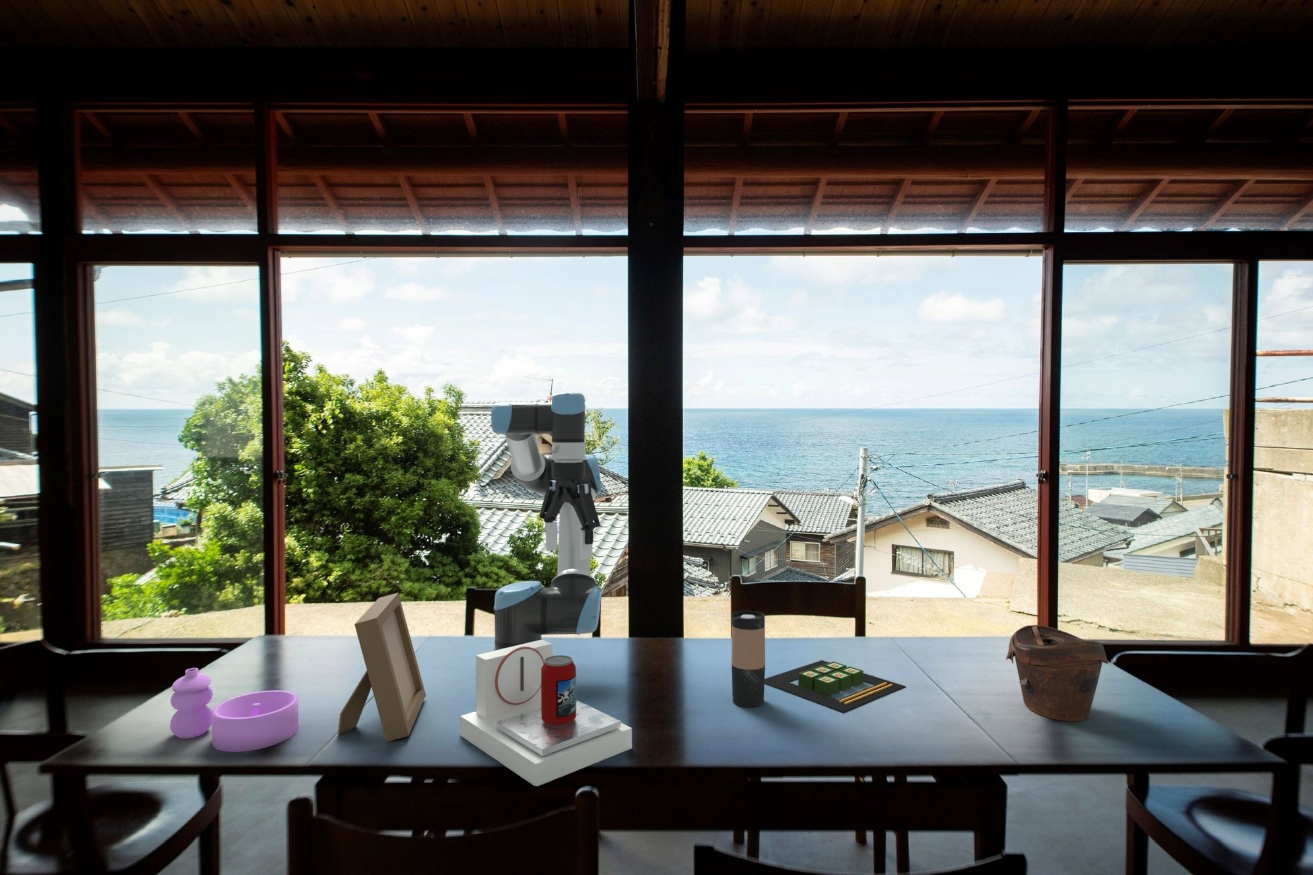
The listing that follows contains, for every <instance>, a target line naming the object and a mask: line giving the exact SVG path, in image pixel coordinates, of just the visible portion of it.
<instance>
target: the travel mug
mask: <svg viewBox="0 0 1313 875" xmlns="http://www.w3.org/2000/svg"><path fill="white" fill-rule="evenodd" d="M765 625H766V617H765V614H764V613H763V612H760V611H756V610H737V611H734V612H733V613H732V614H731V692H732V703H733V704H734V705H735V706H739V707H741V708H746V709H747V708H749V709H752V708H754V709H755V708H759V707H760V706H763V705H764V703H765V685H766V684H765V678H766V626H765Z"/></svg>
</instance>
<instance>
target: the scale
mask: <svg viewBox="0 0 1313 875" xmlns="http://www.w3.org/2000/svg"><path fill="white" fill-rule="evenodd" d="M551 656H553V643H551V642H549V641H547V640H544V639H541V640H538V641H534V642H530V643H525V644H521V645H517V646H513V647H508V648H504V649H500V650H496V651H494V650H492V651H488V652H484V653H479V654H475V702H476V703H475V711H472V712H469V713H466V714H462V715H460V717H459V718H460V719H459V720H460V721H459V724H460V725H459V726H460V727H459V729H460V732H459V734H460V737H462V738H463V739H465V740H466V741H468V742H469V743H471V744H472V745H473V746H475V747H477V748H478V749H479V750H480V751H482V752H484V753H485V754H486V755H489V756H490V757H491V758H493V759H495V761H497V762H499V763H500V764H502V765H503V766H504V767H506V768H508V769H509V770H510V771H512V772H513V773H514V774H517V775H518V776H519V777H520V778H522V779H523V780H525V781H526V782H528V783H530V784H531V785H533V786H534V787H535V786H537V787H539V786H541V785H544V784H546V783H549V782H551V781H553V780H556V779H559V778H561V777H564V776H566V775H569V774H572V773H574V772H576V771H579V770H580V769H584V768H587V767H589V766H591V765H595V764H596V763H599V762H601V761H604V760H606V759H608V758H611V757H614V756H617V755H618V754H621V753H625V752H626V751H629V750H631V749H632V748H633V728H632V727H630V726H628V725H626V724H625V723H623V722H621V727H620V728H617V729H614V730H612V731H609V732H606V733H604V734H601V735H598V736H596V737H593V738H590V739H587V740H585V741H582V742H579V743H577V744H574V745H571V746H568V747H566V748H563V749H560V750H558V751H555V752H552V753H549V754H547V755H544V756H541V755H540V754H538V753H536V752H535V751H533V750H532V749H530V748H528V747H527V746H525V745H523V744H522V743H520V742H519V741H517V740H515V739H514V738H512V737H510V736H509V735H507V734H505V733H504V732H502V731H501V730H499V729H497V727H496V722H498V721H501V720H504V719H507V718H510V717H513V716H517V715H520V714H523V713H526V712H529V711H533V710H536V709H539V708H541V668H542V666H543V664H544V662H545V659H546V658H548V657H551Z"/></svg>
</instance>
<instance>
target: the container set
mask: <svg viewBox="0 0 1313 875" xmlns="http://www.w3.org/2000/svg"><path fill="white" fill-rule="evenodd" d="M184 673H185V674H184V676H181V677H180V678H177V679H176V680H175V681H174V682H173V683H172V686H171V689H172V691H173V694H172V695H171V696H170V705H171V707H173V709H175V710H176V711H175V713H174V714H173V715H172V717H171V719H170V724H169V729H170V731H171V732H172V733H173V734H174V736H176V737H177V738H178V739H192V738H195V737H196V738H197V737H199V736H201V735H204V734H206V732H207V731H208V730H209V729H210V728H211V731H212V732H211V744H212V747H213V748H214V749H216V750H218V751H222V752H227V753H228V752H230V753H239V752H240V753H241V752H242V753H243V752H251V751H255V750H256V751H257V750H261V749H265V748H268V747H271V746H275V745H279V744H280V743H282V742H285V741H286V740H288V739H290V738H292V737H293V736H294V735H295V734H296V733H297V732H298V730H299V696H298V694H297V693H294V692H292V691H288V690H278V689H277V690H276V689H275V690H262V691H254V692H251V693H245V694H241V695H238V696H237V695H236V696H234V697H232V698H228V699H226V700H225V701H222V702H220V703H218V704H217V705H216V706H214V708H213V709H211V708H210V707H209V706H208V704H209V703H210V702H211V700H212V699H213V696H214V692H213V689H212V688H211V687H210V686H211V683H212V679H211V677H210V676H209V675H207V674H204V673H199V668H197V667H192V668H188V669H186V670H185V672H184Z"/></svg>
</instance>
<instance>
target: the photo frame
mask: <svg viewBox="0 0 1313 875" xmlns="http://www.w3.org/2000/svg"><path fill="white" fill-rule="evenodd" d="M400 597H401V596H400V594H399V592H396V593H392V594H388V595H385V596H381V597H378V598H377V599H376V600H375V601H374V603H372V605H371V606H370V607H369V608H368V609H367V610H366V611H365V612H364V613H363V614H362V615H361V616H360V617H359V618H358V619H357V621H356V622H355V623H354V629H355V632H356V635H357V638H358V644H359V646H360V651H361V653H362V658H363V661H364V665H365V668H366V670H365V673H364V674H363V676H362V678H361V679H360V680H359V682H358V684H357V686H355V689H354V690H353V692H352V694H351V695H350V697H349V698H348V701H347V702H346V703H345V705H344V707H343V708H342V710H341V711H340V713H339V720H338V729H337V735H339V736H340V735H342V734H344V733H347V732H348V731H349V732H350V731H351V730H353V729H355V728H356V727H358V723H359V721H360V717H361V716H362V713H363V710H364V708H365V705H366V702H367V700H368V696H369V694H370V692H371V690H372V694H373V697H374V701H375V704H376V709H377V712H378V716H379V719H380V722H381V727H382V729H383V734H384V737H385V741H386V743H389V742H393V741H396V740H399V739H401V738H405V737H409V736H410V734H411V731H412V730H413V726H414V724H415V721H416V719H417V718H418V714H419V712H420V710H421V707H422V705H423V704H424V701H425V698H426V696H427V694H426V690H425V687H424V686H425V685H424V683H423V678H422V676H421V675H422V674H421V671H420V668H419V664H418V661H417V657H416V654H415V653H416V652H415V650H414V647H413V641H412V640H411V639H412V638H411V634H410V630H409V628H408V623H407V619H406V616H405V612H404V608H403V604H402V602H401V598H400Z"/></svg>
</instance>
